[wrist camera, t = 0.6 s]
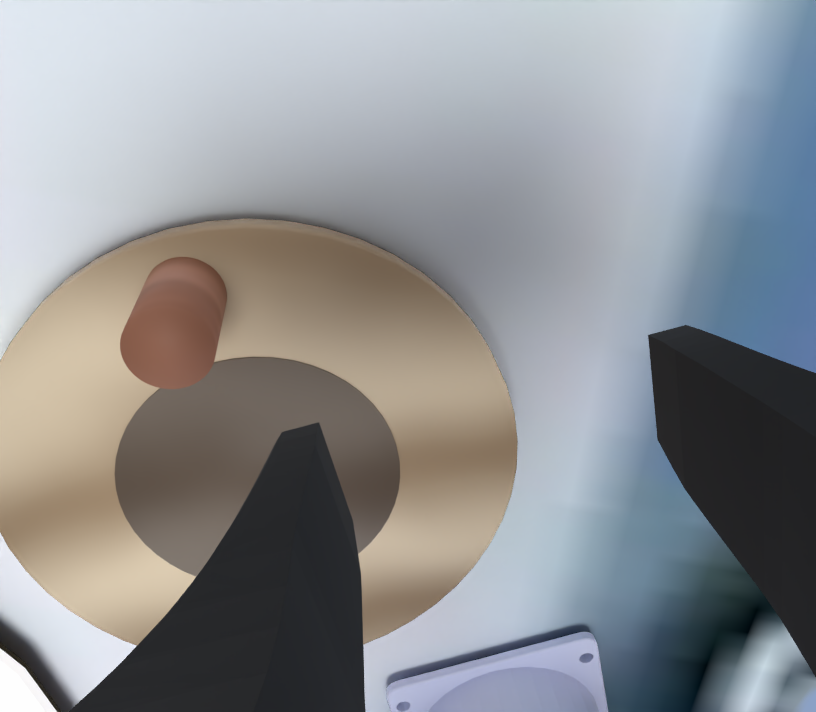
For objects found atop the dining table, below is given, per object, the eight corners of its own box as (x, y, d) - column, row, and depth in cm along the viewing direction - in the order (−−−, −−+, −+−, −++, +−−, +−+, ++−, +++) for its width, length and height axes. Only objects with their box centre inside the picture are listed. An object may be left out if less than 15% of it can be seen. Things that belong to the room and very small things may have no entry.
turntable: (543, 579, 27) (578, 670, 23) (119, 692, 27) (93, 799, 23) (458, 152, 19) (491, 194, 16) (-122, 305, 19) (-210, 379, 16)
